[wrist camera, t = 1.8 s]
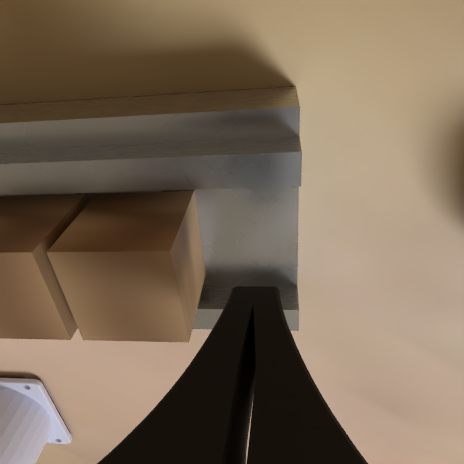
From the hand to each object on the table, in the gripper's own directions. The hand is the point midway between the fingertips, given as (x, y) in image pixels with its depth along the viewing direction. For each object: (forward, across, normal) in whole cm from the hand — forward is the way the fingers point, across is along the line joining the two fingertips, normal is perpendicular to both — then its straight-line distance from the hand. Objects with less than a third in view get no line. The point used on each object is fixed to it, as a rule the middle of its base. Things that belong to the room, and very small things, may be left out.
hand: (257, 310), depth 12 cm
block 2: (+4, +5, 0) cm, 6 cm away
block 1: (+4, +9, 0) cm, 10 cm away
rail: (+7, +6, 0) cm, 9 cm away
